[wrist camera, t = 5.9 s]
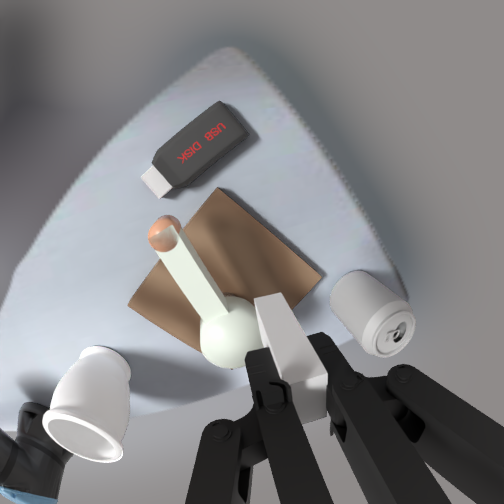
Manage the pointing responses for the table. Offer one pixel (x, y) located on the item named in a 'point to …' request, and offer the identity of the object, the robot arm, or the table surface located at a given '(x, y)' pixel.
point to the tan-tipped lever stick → (207, 298)
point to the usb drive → (194, 149)
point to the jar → (92, 406)
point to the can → (372, 314)
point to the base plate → (224, 268)
